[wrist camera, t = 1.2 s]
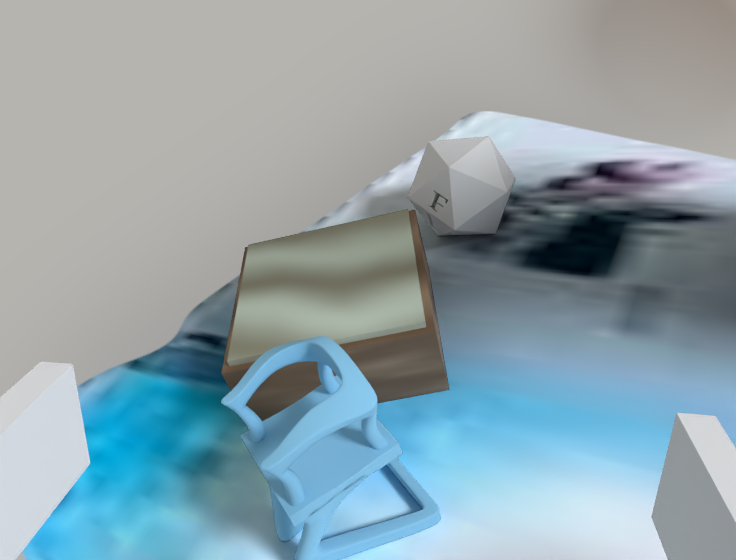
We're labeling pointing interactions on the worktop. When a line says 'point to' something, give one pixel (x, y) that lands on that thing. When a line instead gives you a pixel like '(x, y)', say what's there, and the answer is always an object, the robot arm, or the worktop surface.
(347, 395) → the chair
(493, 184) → the die
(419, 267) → the base block
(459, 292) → the worktop surface
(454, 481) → the worktop surface
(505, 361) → the worktop surface
